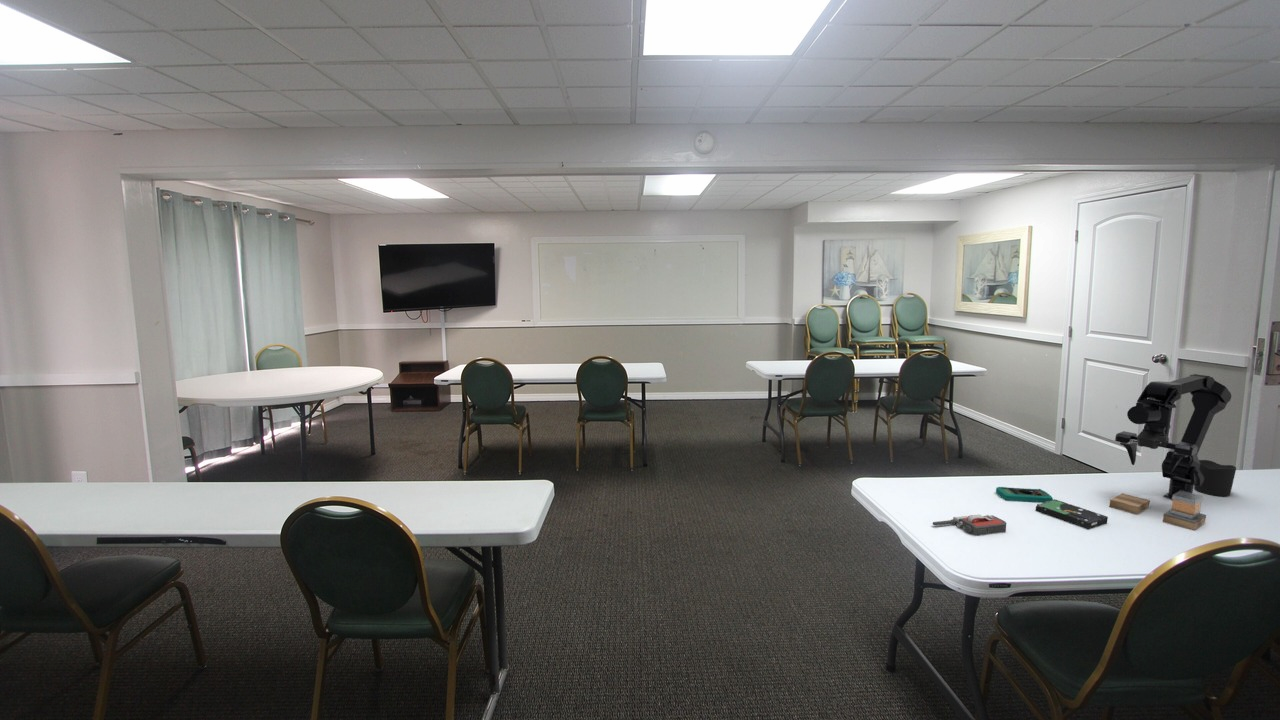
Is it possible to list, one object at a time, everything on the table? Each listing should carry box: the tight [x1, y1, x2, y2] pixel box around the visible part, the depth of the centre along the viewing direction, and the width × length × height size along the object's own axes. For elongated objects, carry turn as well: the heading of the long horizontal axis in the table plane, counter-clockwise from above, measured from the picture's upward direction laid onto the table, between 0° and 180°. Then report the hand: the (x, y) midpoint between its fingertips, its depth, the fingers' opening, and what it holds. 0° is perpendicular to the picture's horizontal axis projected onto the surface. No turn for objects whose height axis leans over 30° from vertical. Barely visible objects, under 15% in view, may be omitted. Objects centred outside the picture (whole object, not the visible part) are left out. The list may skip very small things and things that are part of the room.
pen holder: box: [1193, 459, 1237, 498], centre depth 190 cm, size 9×9×10 cm
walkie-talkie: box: [932, 514, 1007, 537], centre depth 162 cm, size 9×4×20 cm
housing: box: [1170, 490, 1204, 520], centre depth 166 cm, size 7×5×6 cm
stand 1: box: [1108, 493, 1151, 515], centre depth 178 cm, size 10×7×2 cm
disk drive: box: [1035, 498, 1109, 530], centre depth 171 cm, size 10×3×15 cm
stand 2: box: [1162, 509, 1207, 531], centre depth 167 cm, size 10×7×2 cm
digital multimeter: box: [995, 486, 1054, 504], centre depth 185 cm, size 7×15×3 cm, turn 81°
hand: (1151, 468), depth 179 cm, fingers open, 9 cm apart
